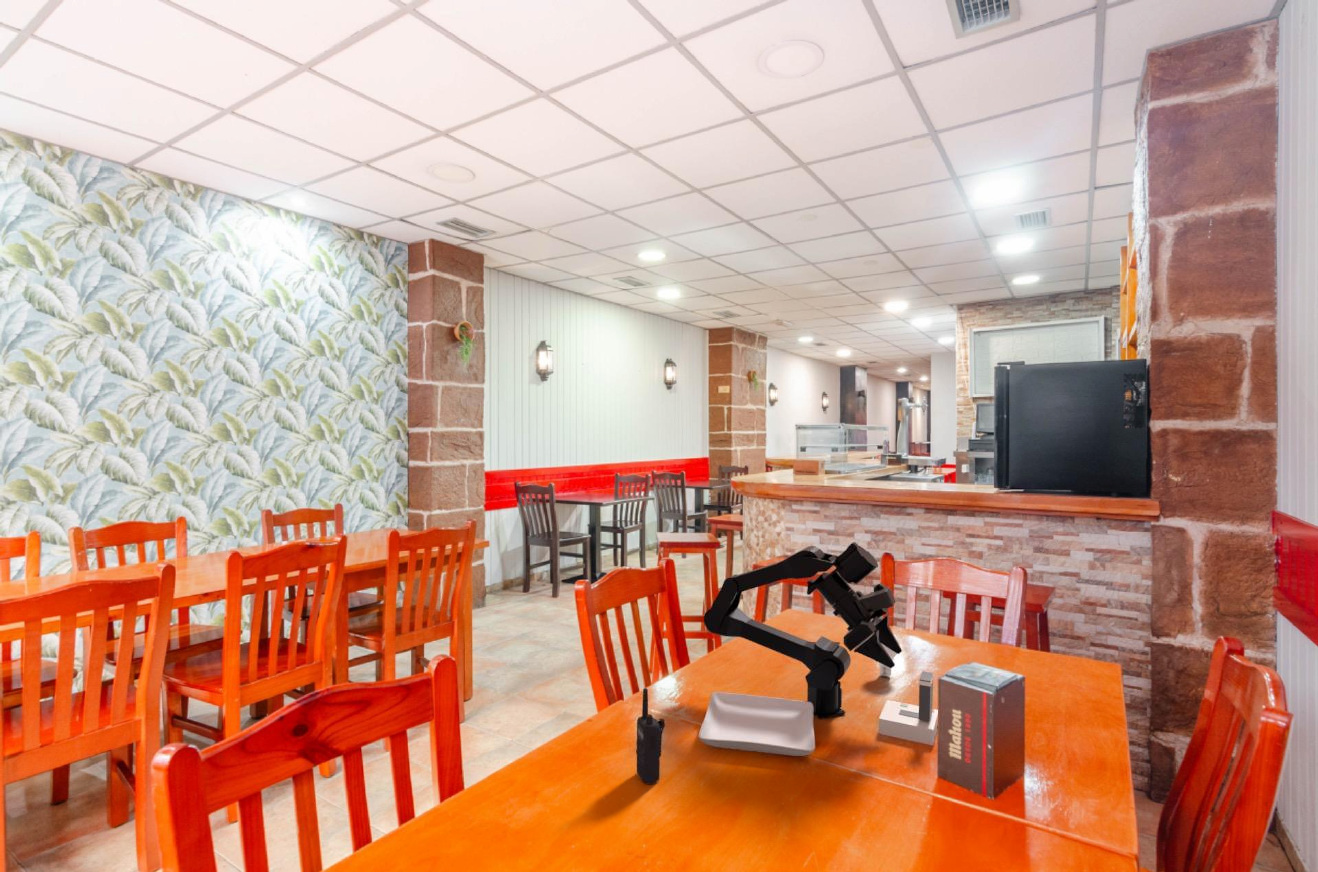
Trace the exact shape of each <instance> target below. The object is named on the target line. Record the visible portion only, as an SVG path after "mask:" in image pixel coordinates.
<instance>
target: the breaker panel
mask: <svg viewBox="0 0 1318 872" xmlns="http://www.w3.org/2000/svg"><path fill="white" fill-rule="evenodd" d="M938 710H939V709H936V708H933V709H932V715H931V718H930V721H925V720H920V719H919V705H916V704H910V703H905V702H900V701H893V700H890V699H888V700H886V702H885V704H884V706H883V708H882V710H881V713H880V715H879V718H878V732H877V733H878V734H880V735H884V736H888V737H892V738H896V739H901V740H902V739H903V740H905V741H906V740H907V741H911V742H914V743H915V742H916V743H920V744H925V745H928V746H929V745H930V746H934V744H935V740H936V737H937V732H938V729H937V720H938Z"/></svg>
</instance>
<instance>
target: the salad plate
mask: <svg viewBox="0 0 1318 872" xmlns="http://www.w3.org/2000/svg"><path fill="white" fill-rule="evenodd" d="M710 695H711V696H710V699H709V703H708V706H707V709H706V713H705V716H704V719H703V722H702V724H701V727H700V729H699V732H698V735H697V736H698V739H699V740H700V741H701V742H702V743H704V745H705V744H706V745H707V746H709V747H715V748H721V749H728V748H730V749H729V750H736V749H739V750H738V751H745V750H746V751H745V752H753V751H757V752H756V753H763V752H764V753H765V754H774V755H784V756H792V757H803V756H808V755H810V754H812V753H814V752H815V749H816V739H815V729H814V727H815V726H814V714H813V712H814V707H813V704H812V703H811V702H807V701H805V700H797V699H789V698H782V697H781V698H780V697H773V696H772V697H771V696H764V695H753V694H743V693H731V692H720V691H713V692H712V693H711V694H710Z"/></svg>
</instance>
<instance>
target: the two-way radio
mask: <svg viewBox="0 0 1318 872" xmlns="http://www.w3.org/2000/svg"><path fill="white" fill-rule="evenodd" d="M648 690H649V689H648V688H646V687H645V688H643V689H642V707H641V708H642V709H641V710H642V711H641V712H642V713H641V716H639V717H638V718H637V719H636V742H635V743H636V749H635V750H636V752H635V753H636V774H637V775H638V777H639V778H640V780H641V781H642V782H643V784H645V785H652V784H656V783H657V782H658V781H659V780H660V768H661V767H660V766H661V765H660V763H661V762H660V760H661V759H660V758H661V757H662V739H663V732H664V728H665V727H666V721H665V720H666V719H664V718H659V719H658V720H657V719H656V718H655V717H653V715H652V714H650V713H649V695H648V694H649V691H648Z"/></svg>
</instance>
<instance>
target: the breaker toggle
mask: <svg viewBox="0 0 1318 872" xmlns="http://www.w3.org/2000/svg"><path fill="white" fill-rule="evenodd" d="M918 688H919V689H918V706H919V719H920V720H925V721H930V718H931V715H932V709H934V708H933V701H934V700H933V699H934V697H933V696H934V693H933V692H934V672H930V671H924V670H922V671H921V674H920V676H919V679H918Z"/></svg>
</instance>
